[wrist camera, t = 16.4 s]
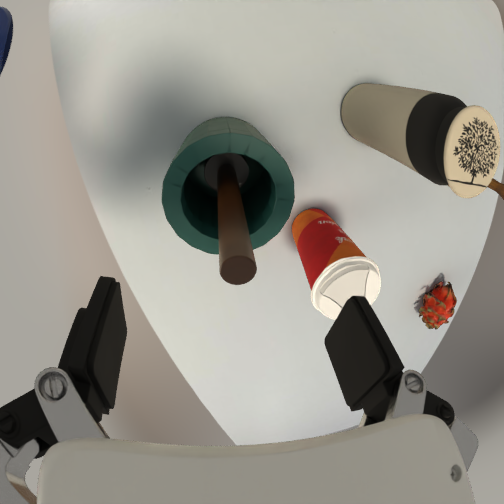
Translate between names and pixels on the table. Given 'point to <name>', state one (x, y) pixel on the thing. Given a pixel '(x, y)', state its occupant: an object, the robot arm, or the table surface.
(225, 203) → the peg on round base
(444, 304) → the dragon fruit
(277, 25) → the table surface
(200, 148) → the jar
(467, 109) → the travel mug
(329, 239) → the paper cup
